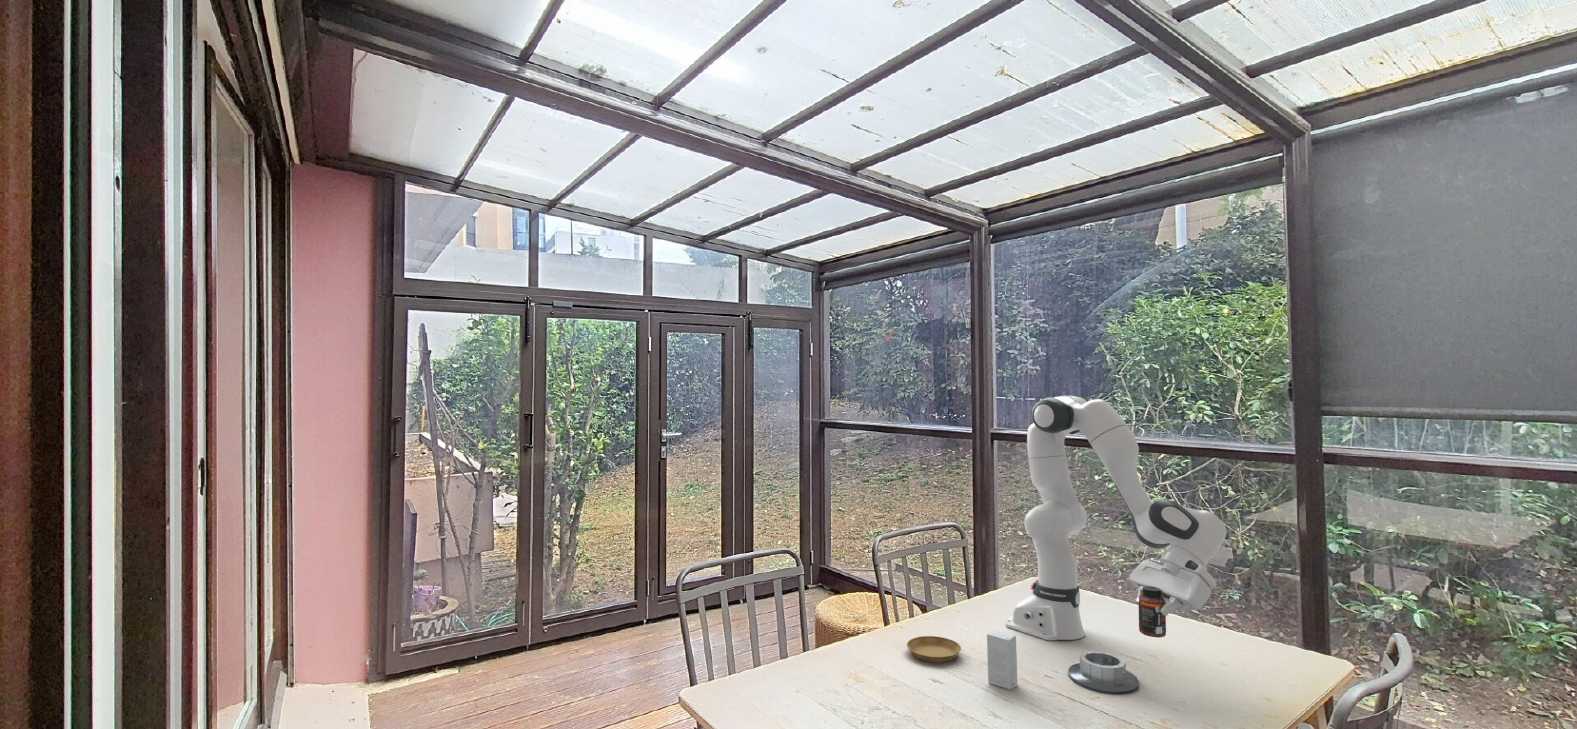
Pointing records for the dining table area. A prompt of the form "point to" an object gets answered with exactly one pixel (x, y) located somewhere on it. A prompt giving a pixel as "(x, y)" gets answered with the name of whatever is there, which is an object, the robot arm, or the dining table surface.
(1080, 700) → the dining table surface
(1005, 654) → the skincare box
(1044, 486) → the robot arm
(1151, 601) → the supplement bottle
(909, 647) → the plant saucer
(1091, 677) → the duct collar
